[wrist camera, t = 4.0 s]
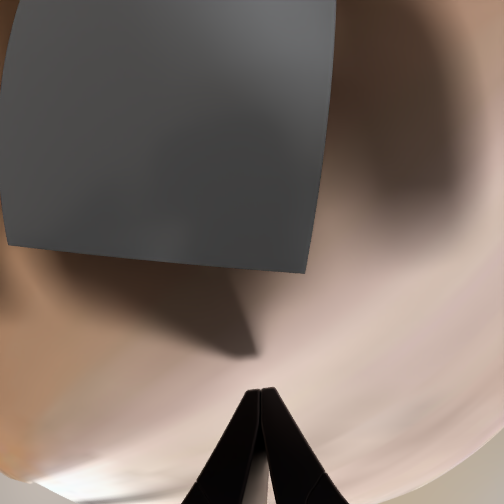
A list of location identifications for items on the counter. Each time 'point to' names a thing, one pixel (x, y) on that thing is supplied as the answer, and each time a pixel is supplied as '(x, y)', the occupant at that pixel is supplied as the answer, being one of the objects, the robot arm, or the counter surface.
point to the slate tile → (167, 129)
